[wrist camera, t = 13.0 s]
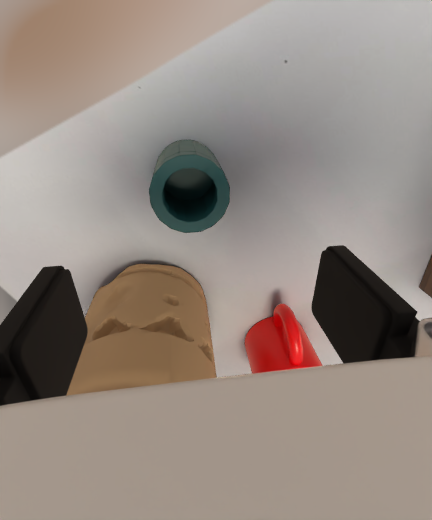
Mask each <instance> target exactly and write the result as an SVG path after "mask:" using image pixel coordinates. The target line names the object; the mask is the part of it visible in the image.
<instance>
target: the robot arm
mask: <svg viewBox="0 0 432 520" xmlns="http://www.w3.org/2000/svg"><path fill="white" fill-rule="evenodd" d="M312 313H313V315H314V317H315V318H316V320H317V321H318V323H319V325H320V326H321V328H322V329H323V331H324V333H325V334H326V336H327V337H328V339H329V341H330V342H331V344H332V346H333V347H334V349H335V350H336V352H337V354H338V355H339V357H340V358H341V360H342V362H343V363H344V364H335V365H326V366H316V367H307V368H298V369H289V370H280V371H271V372H262V373H253V374H244V375H235V376H227V377H218V378H209V379H201V380H192V381H183V382H175V383H166V384H158V385H150V386H141V387H133V388H125V389H116V390H108V391H100V392H92V393H84V394H76V395H68V396H66V395H67V392H68V389H69V386H70V383H71V381H72V378H73V375H74V372H75V369H76V366H77V364H78V361H79V358H80V355H81V352H82V349H83V347H84V344H85V341H86V338H87V334H88V328H87V324H86V321H85V318H84V315H83V311H82V308H81V305H80V302H79V298H78V295H77V292H76V289H75V285H74V282H73V279H72V276H71V273H70V271H69V270H68V269H67V270H65V269H64V267H63V266H53V267H44V268H42V270H41V271H40V272H39V274H38V275H37V276H36V278H35V279H34V280H33V282H32V283H31V284H30V286H29V287H28V288H27V290H26V291H25V292H24V294H23V295H22V297H21V298H20V299H19V301H18V302H17V303H16V305H15V306H14V308H13V309H12V310H11V311H10V313H9V314H8V316H7V317H6V318H5V319H4V321H3V322H2V324H1V325H0V520H432V318H426V319H423V320H421V321H419V320H418V319H416V318H415V316H416V314H417V311H416V310H415V309H414V308H412V307H411V306H410V305H409V304H408V303H407V302H406V301H405V300H404V299H403V298H401V297H400V296H399V295H398V294H397V293H396V292H395V291H394V290H393V289H392V288H390V287H389V286H388V285H387V284H386V283H385V282H384V281H383V280H382V279H381V278H379V277H378V276H377V275H376V274H375V273H374V272H373V271H372V270H371V269H369V268H368V267H367V266H366V265H365V264H364V263H363V262H362V261H361V260H360V259H358V258H357V257H356V256H355V255H354V254H353V253H352V252H351V251H350V250H349V249H347V248H346V247H345V246H329V247H327V248H326V250H324V251H323V252H322V254H321V259H320V264H319V270H318V275H317V280H316V285H315V291H314V296H313V301H312Z"/></svg>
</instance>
